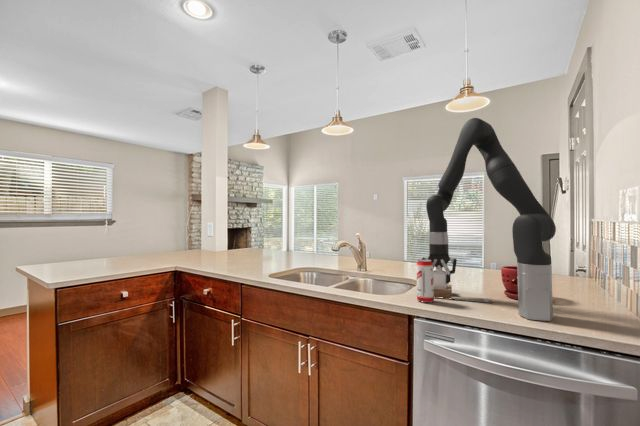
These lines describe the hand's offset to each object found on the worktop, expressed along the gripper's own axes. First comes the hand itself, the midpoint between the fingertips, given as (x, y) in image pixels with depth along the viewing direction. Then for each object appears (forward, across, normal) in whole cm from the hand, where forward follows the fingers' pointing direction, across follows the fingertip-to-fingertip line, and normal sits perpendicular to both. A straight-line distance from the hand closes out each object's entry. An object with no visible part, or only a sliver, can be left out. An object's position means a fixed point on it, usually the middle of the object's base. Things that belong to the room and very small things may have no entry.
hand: (439, 282), depth 131 cm
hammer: (+5, +7, -1) cm, 9 cm away
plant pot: (+5, +30, +7) cm, 31 cm away
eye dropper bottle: (+3, 0, 0) cm, 3 cm away
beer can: (+5, -5, -12) cm, 14 cm away
